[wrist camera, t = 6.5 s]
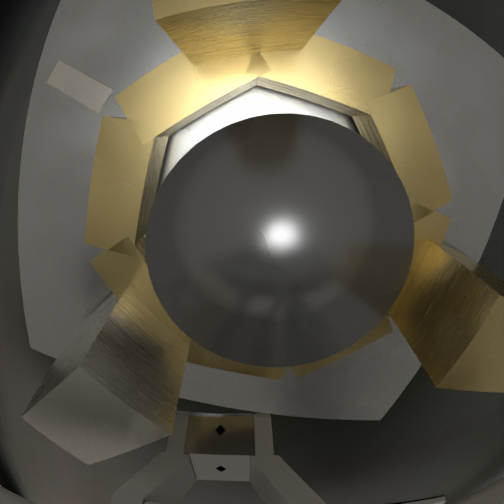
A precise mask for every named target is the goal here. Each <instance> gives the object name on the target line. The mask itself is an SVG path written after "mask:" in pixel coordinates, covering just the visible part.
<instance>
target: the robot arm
mask: <svg viewBox="0 0 504 504" xmlns="http://www.w3.org/2000/svg"><path fill="white" fill-rule="evenodd" d="M196 480H225V481H249V483H250V484H251V485H252V487H253V488H254V489H255V491H256V492H257V493H258V495H259V496H260V497H261V499H262V500H263V501H264V503H265V504H326V502H324V501H323V500H322V499H321V498H320V497H319V496H318V495H317V494H316V493H315V492H314V491H313V490H312V489H311V488H310V487H309V486H308V485H307V484H306V483H305V482H304V481H303V480H302V479H301V478H300V477H299V476H298V475H297V474H296V473H295V472H294V471H293V470H292V469H291V468H290V467H289V466H288V464H287V463H286V462H285V461H284V460H283V459H282V458H281V457H280V456H279V455H274V448H273V437H272V426H271V416H270V414H269V413H258V414H253V413H222V414H213V413H198V412H186V411H176V415H175V420H174V425H173V431H172V434H171V435H169V436H168V441H167V446H166V451H165V452H164V451H161V452H160V453H159V454H157V455H156V456H155V457H154V458H153V459H152V460H151V461H150V462H149V463H147V464H146V465H145V466H144V467H143V468H142V469H141V470H139V471H138V472H137V473H136V474H135V475H134V476H133V477H131V478H130V479H129V480H128V481H127V482H126V483H124V484H123V485H122V486H121V487H120V488H118V489H117V490H116V491H115V492H114V493H113V495H112V499H111V503H110V504H178V502H179V501H180V500H181V499H182V498H183V497H184V495H185V494H186V493H187V492H188V491H189V489H190V488H191V487H192V486H193V485H194V483H195V482H196ZM445 501H446V500H445V496H443V497H438V498H433V499H428V500H422V501H416V502H410V503H403V504H444V503H445ZM0 504H35V503H33V502H31V501H29V500H27V499H24V498H22V497H20V496H18V495H16V494H14V493H12V492H10V491H9V490H7V489H5V488H3V487H1V486H0ZM452 504H504V477H503V478H501V479H500V480H498V481H496V482H494V483H493V484H491V485H489V486H487V487H485V488H483V489H482V490H480V491H478V492H476V493H474V494H472V495H470V496H468V497H466V498H463V499H461V500H459V501H457V502H455V503H452Z"/></svg>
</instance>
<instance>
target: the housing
mask: <svg viewBox="0 0 504 504" xmlns="http://www.w3.org/2000/svg"><path fill="white" fill-rule="evenodd" d="M315 35H318V36H321V37H323V38H326V39H329V40H332V41H334V42H337V43H339V44H342V45H344V46H347V47H349V48H352V49H354V50H357V51H359V52H361V53H364V54H366V55H368V56H370V57H373V58H375V59H377V60H379V61H381V62H383V63H385V64H387V65H389V66H391V67H393V68H395V69H396V71H395V75H394V79H393V83H392V86H391V88H395V87H400V86H405V85H412V88H413V90H414V92H415V94H416V96H417V99H418V101H419V103H420V106H421V108H422V110H423V113H424V115H425V118H426V120H427V123H428V125H429V128H430V130H431V133H432V136H433V138H434V141H435V144H436V147H437V150H438V153H439V156H440V159H441V162H442V165H443V168H444V171H445V174H446V178H447V181H448V185H449V188H450V192H451V195H452V199H453V200H452V201H451V202H449V203H447V204H446V205H444V206H442V207H441V208H439V209H437V210H436V211H438V212H440V213H442V214H443V215H445V216H447V217H449V218H451V221H450V224H449V227H448V229H447V232H446V234H445V237H444V239H443V241H442V243H444V244H446V245H448V246H450V247H451V248H453V249H455V250H457V251H459V252H460V253H462V254H464V255H466V256H467V257H469V258H471V259H473V260H474V261H476V262H479V260H480V258H481V255H482V253H483V251H484V248H485V246H486V244H487V241H488V239H489V236H490V234H491V231H492V228H493V226H494V223H495V220H496V218H497V215H498V212H499V209H500V206H501V203H502V200H503V197H504V58H503V57H502V56H501V55H500V54H498V53H497V52H496V51H495V50H494V49H493V48H491V47H490V46H489V45H488V44H487V43H485V42H484V41H483V40H482V39H480V38H479V37H478V36H477V35H475V34H474V33H473V32H471V31H470V30H469V29H467V28H466V27H465V26H463V25H462V24H460V23H459V22H458V21H456V20H455V19H453V18H452V17H450V16H449V15H447V14H446V13H444V12H443V11H441V10H440V9H438V8H437V7H435V6H433V5H432V4H430V3H428V2H427V1H425V0H341V2H340V3H339V4H338V5H337V6H336V8H335V9H334V10H333V11H332V13H331V14H330V15H329V16H328V17H327V19H326V20H325V21H324V22H323V24H322V25H321V26H320V27H319V29H318V30H317V31H316V32H315ZM180 52H182V51H181V50H180V49H179V48H178V46H177V45H176V44H175V43H174V42H173V40H172V39H171V38H170V37H169V36H168V35H167V33H166V32H165V31H164V30H163V29H162V28H161V26H160V25H159V24H158V23H157V22H156V21H155V18H154V10H153V2H152V0H61V1H60V4H59V6H58V9H57V11H56V14H55V16H54V19H53V22H52V25H51V27H50V30H49V33H48V36H47V39H46V42H45V45H44V48H43V52H42V55H41V58H40V62H39V66H38V69H37V73H36V77H35V81H34V85H33V90H32V94H31V99H30V104H29V109H28V114H27V120H26V126H25V132H24V139H23V147H22V156H21V166H20V178H19V195H18V249H19V266H20V279H21V289H22V297H23V305H24V312H25V319H26V325H27V331H28V336H29V342H30V347H31V348H32V349H34V350H37V351H39V352H41V353H44V354H46V355H48V356H51V357H53V358H56V359H57V358H58V356H59V355H60V353H61V352H62V350H63V349H64V347H65V346H66V344H67V343H68V341H69V340H70V338H71V337H72V335H73V334H74V332H75V331H76V330H77V328H78V327H79V326H80V325H81V324H82V323H83V322H84V321H85V320H86V319H87V318H88V317H89V316H90V315H91V314H92V313H93V312H94V311H95V310H96V309H97V308H98V307H99V306H100V305H101V304H102V303H103V302H104V301H106V300H107V299H108V298H109V297H110V296H111V295H112V294H113V292H112V291H111V290H110V288H109V287H108V286H107V284H106V283H105V282H104V280H103V279H102V278H101V276H100V275H99V274H98V272H97V271H96V270H95V268H94V267H93V265H92V264H91V263H90V262H91V261H92V260H93V259H94V258H95V257H96V256H97V255H98V254H99V253H100V252H101V251H102V250H103V248H99V247H96V246H92V245H89V244H85V232H86V220H87V209H88V200H89V192H90V184H91V177H92V170H93V163H94V157H95V151H96V146H97V141H98V135H99V130H100V125H101V121H102V116H115V117H126V115H125V113H124V112H123V110H122V108H121V107H120V105H119V103H118V101H117V100H116V98H115V96H116V95H118V94H119V93H120V92H122V91H123V90H124V89H126V88H127V87H128V86H130V85H131V84H133V83H134V82H135V81H137V80H138V79H140V78H141V77H143V76H144V75H146V74H147V73H149V72H150V71H152V70H153V69H155V68H156V67H158V66H159V65H161V64H162V63H164V62H166V61H167V60H169V59H170V58H172V57H174V56H175V55H177V54H179V53H180ZM145 247H146V262H147V267H148V272H149V277H150V280H151V283H152V285H153V288H154V291H155V293H156V295H157V297H158V299H159V301H160V303H161V305H162V307H163V308H164V310H165V311H166V313H167V314H168V315H169V317H170V318H171V320H172V321H173V322H174V323H175V324H176V325H177V326H178V327H179V328H180V330H181V331H182V332H184V333H185V334H186V335H187V336H188V337H189V338H191V339H192V340H193V341H194V342H196V343H197V344H199V345H200V346H202V347H203V348H205V349H207V350H209V351H210V352H212V353H214V354H216V355H218V356H221V357H223V358H226V359H229V360H232V361H234V362H238V363H243V364H247V365H252V366H260V367H287V368H286V370H285V373H284V375H283V377H282V379H281V380H276V379H270V378H263V377H257V376H252V375H246V374H241V373H235V372H230V371H225V370H220V369H215V368H211V367H206V366H201V365H197V364H193V363H188V362H186V365H185V370H184V375H183V380H182V385H181V389H180V394H179V398H183V399H188V400H192V401H197V402H202V403H207V404H212V405H217V406H223V407H228V408H234V409H240V410H247V411H253V412H261V413H269V414H276V415H285V416H295V417H307V418H320V419H339V420H381V419H382V418H383V416H384V415H385V414H386V413H387V411H388V410H389V409H390V408H391V406H392V405H393V404H394V402H395V401H396V400H397V398H398V397H399V396H400V395H401V393H402V392H403V390H404V389H405V388H406V386H407V385H408V384H409V382H410V381H411V379H412V378H413V377H414V375H415V374H416V372H417V371H418V369H419V368H420V366H421V365H422V364H421V363H420V361H419V359H418V358H417V356H416V355H415V353H414V352H413V350H412V348H411V347H410V345H409V344H408V342H407V341H406V339H405V338H404V336H403V335H402V333H401V332H400V330H399V329H398V327H397V326H396V324H395V323H394V321H393V320H392V318H391V317H390V316H388V318H389V321H390V324H391V327H392V330H393V332H391V333H389V334H387V335H386V336H384V337H382V338H380V339H378V340H376V341H374V342H373V343H371V344H369V345H367V346H365V347H363V348H361V349H359V350H357V351H355V352H353V353H351V354H349V355H347V356H345V357H343V358H341V359H339V360H337V361H334V362H332V363H330V364H328V365H326V366H324V367H322V368H319V369H317V370H315V371H313V372H310V373H308V374H306V375H304V376H301V377H299V378H297V376H296V375H295V373H294V372H293V371H292V369H291V368H290V366H297V365H303V364H308V363H312V362H315V361H318V360H322V359H325V358H327V357H329V356H332V355H334V354H336V353H339V352H340V351H342V350H344V349H346V348H348V347H349V346H351V345H353V344H354V343H356V342H357V341H358V340H360V339H361V338H363V337H364V336H365V335H366V334H367V333H369V332H370V331H371V330H372V329H373V328H374V327H375V326H376V325H377V324H378V323H379V322H380V321H381V320H382V319H383V318H384V317H385V315H386V314H387V313H388V311H389V310H390V309H391V307H392V306H393V304H394V303H395V301H396V299H397V298H398V296H399V294H400V292H401V291H402V288H403V286H404V284H405V281H406V279H407V276H408V273H409V270H410V266H411V262H412V258H413V251H414V220H413V213H412V209H411V205H410V201H409V198H408V195H407V192H406V190H405V188H404V186H403V183H402V181H401V179H400V178H399V176H398V174H397V173H396V171H395V169H394V168H393V166H392V165H391V164H390V162H389V161H388V160H387V159H386V158H385V157H384V155H383V154H382V153H381V152H380V151H379V150H378V149H377V148H376V147H374V146H373V145H372V144H371V143H370V142H369V141H368V140H366V139H365V138H363V137H362V136H361V135H360V133H359V130H358V128H357V126H356V124H355V122H354V120H353V118H352V117H351V116H349V115H346V114H344V113H341V112H338V111H336V110H333V109H330V108H328V107H325V106H322V105H319V104H316V103H313V102H311V101H308V100H305V99H301V98H298V97H295V96H292V95H289V94H286V93H282V92H279V91H276V90H272V89H269V88H265V87H261V86H258V85H256V86H254V87H252V88H250V89H248V90H246V91H244V92H242V93H240V94H239V95H237V96H235V97H233V98H231V99H229V100H228V101H226V102H224V103H222V104H220V105H219V106H217V107H215V108H213V109H212V110H210V111H208V112H207V113H205V114H203V115H202V116H200V117H198V118H197V119H195V120H193V121H192V122H190V123H188V124H187V125H185V126H184V127H182V128H180V129H179V130H177V131H176V132H174V133H172V134H171V135H169V137H168V141H167V145H166V149H165V154H164V158H163V162H162V167H161V172H160V176H159V181H158V186H157V191H156V196H155V200H154V202H153V205H152V207H151V211H150V215H149V219H148V223H147V230H146V242H145Z"/></svg>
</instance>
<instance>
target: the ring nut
mask: <svg viewBox="0 0 504 504" xmlns="http://www.w3.org/2000/svg"><path fill="white" fill-rule="evenodd" d="M152 2H153V10H154V18H155V21H156V22H157V23H158V24H159V25H160V26H161V28H162V29H163V30H164V31H165V32H166V33H167V35H168V36H169V37H170V38H171V39H172V40H173V42H174V43H175V44H176V45H177V46H178V48H179V49H180V50H181V51H182V52H180V53H179V54H177V55H175V56H174V57H172V58H170V59H169V60H167V61H166V62H164V63H162V64H161V65H159V66H158V67H156V68H155V69H153V70H152V71H150V72H149V73H147V74H146V75H144V76H143V77H141V78H140V79H138V80H137V81H135V82H134V83H133V84H131V85H130V86H128V87H127V88H126V89H124V90H123V91H122V92H120V93H119V94H118V95H116V96H115V98H116V100H117V101H118V103H119V105H120V107H121V108H122V110H123V112H124V113H125V115H126V117H115V116H102V121H101V125H100V130H99V135H98V141H97V146H96V151H95V157H94V163H93V170H92V177H91V184H90V192H89V200H88V209H87V220H86V232H85V244H89V245H92V246H96V247H99V248H103V250H102V251H101V252H100V253H99V254H98V255H97V256H96V257H95V258H94V259H93V260H92V261H91V262H90V263H91V264H92V265H93V267H94V268H95V270H96V271H97V272H98V274H99V275H100V276H101V278H102V279H103V280H104V282H105V283H106V284H107V286H108V287H109V288H110V290H111V291H112V292H113V294H112V295H111V296H110V297H109V298H108V299H107V300H106V301H104V302H103V303H102V304H101V305H100V306H99V307H98V308H97V309H96V310H95V311H94V312H93V313H92V314H91V315H90V316H89V317H88V318H87V319H86V320H85V321H84V322H83V323H82V324H81V325H80V326H79V327H78V328H77V330H76V331H75V332H74V334H73V335H72V337H71V338H70V340H69V341H68V343H67V344H66V346H65V347H64V349H63V350H62V352H61V353H60V355H59V356H58V358H57V359H56V361H55V362H54V364H53V365H52V367H51V369H50V370H49V372H48V373H47V375H46V376H45V378H44V380H43V381H42V383H41V385H40V386H39V388H38V389H37V391H36V393H35V394H34V396H33V398H32V399H31V401H30V403H29V405H28V406H27V408H26V410H25V412H24V413H23V415H22V418H23V419H24V420H26V421H27V422H28V423H29V424H31V425H32V426H33V427H34V428H36V429H37V430H38V431H40V432H41V433H42V434H43V435H45V436H46V437H48V438H49V439H50V440H52V441H53V442H54V443H56V444H57V445H59V446H60V447H62V448H63V449H64V450H66V451H67V452H69V453H70V454H72V455H73V456H75V457H76V458H78V459H80V460H81V461H83V462H84V463H86V464H88V465H89V464H93V463H96V462H99V461H102V460H105V459H108V458H111V457H114V456H117V455H120V454H123V453H125V452H128V451H131V450H134V449H136V448H139V447H142V446H144V445H147V444H149V443H152V442H154V441H157V440H159V439H162V438H164V437H167V436H169V435H171V434H172V431H173V425H174V420H175V415H176V410H177V405H178V399H179V394H180V389H181V385H182V380H183V375H184V370H185V365H186V362H188V363H193V364H197V365H201V366H206V367H211V368H215V369H220V370H225V371H230V372H235V373H241V374H246V375H252V376H257V377H263V378H270V379H276V380H281V379H282V377H283V375H284V373H285V370H286V368H287V367H260V366H252V365H247V364H243V363H238V362H234V361H232V360H229V359H226V358H223V357H221V356H218V355H216V354H214V353H212V352H210V351H209V350H207V349H205V348H203V347H202V346H200V345H199V344H197V343H196V342H194V341H193V340H192V339H191V338H189V337H188V336H187V335H186V334H185V333H184V332H182V331H181V330H180V328H179V327H178V326H177V325H176V324H175V323H174V322H173V321H172V320H171V318H170V317H169V315H168V314H167V313H166V311H165V310H164V308H163V307H162V305H161V303H160V301H159V299H158V297H157V295H156V293H155V291H154V288H153V285H152V283H151V280H150V277H149V272H148V267H147V262H146V247H145V242H146V230H147V223H148V219H149V215H150V211H151V207H152V205H153V202H154V200H155V196H156V191H157V186H158V181H159V176H160V172H161V167H162V162H163V158H164V154H165V149H166V145H167V141H168V137H169V135H171V134H172V133H174V132H176V131H177V130H179V129H180V128H182V127H184V126H185V125H187V124H188V123H190V122H192V121H193V120H195V119H197V118H198V117H200V116H202V115H203V114H205V113H207V112H208V111H210V110H212V109H213V108H215V107H217V106H219V105H220V104H222V103H224V102H226V101H228V100H229V99H231V98H233V97H235V96H237V95H239V94H240V93H242V92H244V91H246V90H248V89H250V88H252V87H254V86H256V85H258V86H261V87H265V88H269V89H272V90H276V91H279V92H282V93H286V94H289V95H292V96H295V97H298V98H301V99H305V100H308V101H311V102H313V103H316V104H319V105H322V106H325V107H328V108H330V109H333V110H336V111H338V112H341V113H344V114H346V115H349V116H351V117H352V118H353V120H354V122H355V124H356V126H357V128H358V130H359V133H360V135H361V136H362V137H363V138H365V139H366V140H368V141H369V142H370V143H371V144H372V145H373V146H374V147H376V148H377V149H378V150H379V151H380V152H381V153H382V154H383V155H384V157H385V158H386V159H387V160H388V161H389V162H390V164H391V165H392V166H393V168H394V169H395V171H396V173H397V174H398V176H399V178H400V179H401V181H402V183H403V186H404V188H405V190H406V192H407V195H408V198H409V201H410V205H411V209H412V213H413V220H414V251H413V258H412V262H411V266H410V270H409V273H408V276H407V279H406V281H405V284H404V286H403V288H402V291H401V292H400V294H399V296H398V298H397V299H396V301H395V303H394V304H393V306H392V307H391V309H390V310H389V311H388V313H387V314H386V315H385V317H384V318H383V319H382V320H381V321H380V322H379V323H378V324H377V325H376V326H375V327H374V328H373V329H372V330H371V331H370V332H369V333H367V334H366V335H365V336H364V337H363V338H361V339H360V340H358V341H357V342H356V343H354V344H353V345H351V346H349V347H348V348H346V349H344V350H342V351H340V352H339V353H336V354H334V355H332V356H329V357H327V358H325V359H322V360H318V361H315V362H312V363H308V364H303V365H297V366H290V368H291V369H292V371H293V372H294V373H295V375H296V376H297V378H299V377H301V376H304V375H306V374H308V373H310V372H313V371H315V370H317V369H319V368H322V367H324V366H326V365H328V364H330V363H332V362H334V361H337V360H339V359H341V358H343V357H345V356H347V355H349V354H351V353H353V352H355V351H357V350H359V349H361V348H363V347H365V346H367V345H369V344H371V343H373V342H374V341H376V340H378V339H380V338H382V337H384V336H386V335H387V334H389V333H391V332H393V330H392V327H391V324H390V321H389V318H388V316H390V317H391V318H392V320H393V321H394V323H395V324H396V326H397V327H398V329H399V330H400V332H401V333H402V335H403V336H404V338H405V339H406V341H407V342H408V344H409V345H410V347H411V348H412V350H413V352H414V353H415V355H416V356H417V358H418V359H419V361H420V363H421V364H422V366H423V367H424V369H425V370H426V372H427V374H428V375H429V377H430V379H431V380H432V382H433V383H434V385H435V387H436V388H444V389H455V390H467V391H481V392H501V393H504V282H503V281H502V280H501V279H499V278H498V277H497V276H495V275H494V274H493V273H491V272H490V271H489V270H487V269H486V268H485V267H483V266H482V265H481V264H479V263H478V262H476V261H474V260H473V259H471V258H469V257H467V256H466V255H464V254H462V253H460V252H459V251H457V250H455V249H453V248H451V247H450V246H448V245H446V244H444V243H442V241H443V239H444V237H445V234H446V232H447V229H448V227H449V224H450V221H451V218H449V217H447V216H445V215H443V214H442V213H440V212H438V211H436V210H437V209H439V208H441V207H442V206H444V205H446V204H447V203H449V202H451V201H452V200H453V199H452V195H451V192H450V188H449V185H448V181H447V178H446V174H445V171H444V168H443V165H442V162H441V159H440V156H439V153H438V150H437V147H436V144H435V141H434V138H433V136H432V133H431V130H430V128H429V125H428V123H427V120H426V118H425V115H424V113H423V110H422V108H421V106H420V103H419V101H418V99H417V96H416V94H415V92H414V90H413V88H412V85H405V86H400V87H395V88H391V86H392V83H393V79H394V75H395V71H396V69H395V68H393V67H391V66H389V65H387V64H385V63H383V62H381V61H379V60H377V59H375V58H373V57H370V56H368V55H366V54H364V53H361V52H359V51H357V50H354V49H352V48H349V47H347V46H344V45H342V44H339V43H337V42H334V41H332V40H329V39H326V38H323V37H321V36H318V35H315V32H316V31H317V30H318V29H319V27H320V26H321V25H322V24H323V22H324V21H325V20H326V19H327V17H328V16H329V15H330V14H331V13H332V11H333V10H334V9H335V8H336V6H337V5H338V4H339V3H340V2H341V0H152Z"/></svg>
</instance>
